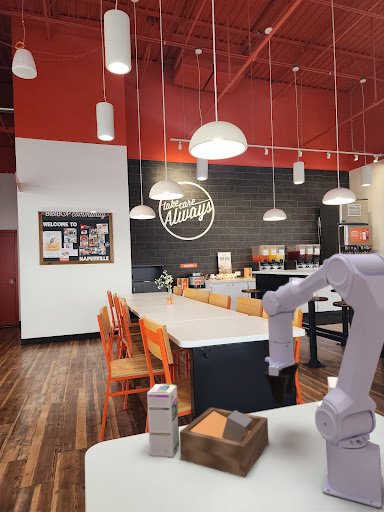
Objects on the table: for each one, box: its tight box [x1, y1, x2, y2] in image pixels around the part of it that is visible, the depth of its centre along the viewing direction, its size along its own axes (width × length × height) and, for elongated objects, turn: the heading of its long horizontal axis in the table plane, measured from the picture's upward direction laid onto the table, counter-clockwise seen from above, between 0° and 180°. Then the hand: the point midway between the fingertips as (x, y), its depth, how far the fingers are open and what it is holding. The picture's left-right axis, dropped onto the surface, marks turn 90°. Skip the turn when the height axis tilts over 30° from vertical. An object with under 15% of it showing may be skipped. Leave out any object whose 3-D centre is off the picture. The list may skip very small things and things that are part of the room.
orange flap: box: [190, 411, 250, 439], centre depth 80 cm, size 12×12×1 cm
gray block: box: [222, 410, 252, 443], centre depth 79 cm, size 4×4×5 cm
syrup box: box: [146, 383, 180, 458], centre depth 82 cm, size 6×6×14 cm
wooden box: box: [179, 407, 270, 478], centre depth 80 cm, size 15×15×6 cm
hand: (283, 397), depth 84 cm, fingers open, 7 cm apart
